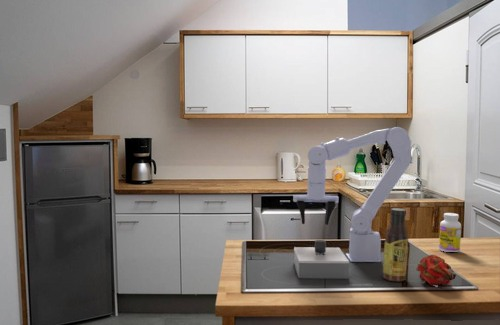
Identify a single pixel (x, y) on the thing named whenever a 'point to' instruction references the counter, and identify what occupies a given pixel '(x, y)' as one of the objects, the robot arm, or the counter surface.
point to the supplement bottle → (450, 233)
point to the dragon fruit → (435, 270)
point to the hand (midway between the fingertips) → (314, 223)
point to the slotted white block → (321, 263)
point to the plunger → (320, 246)
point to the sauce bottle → (396, 247)
